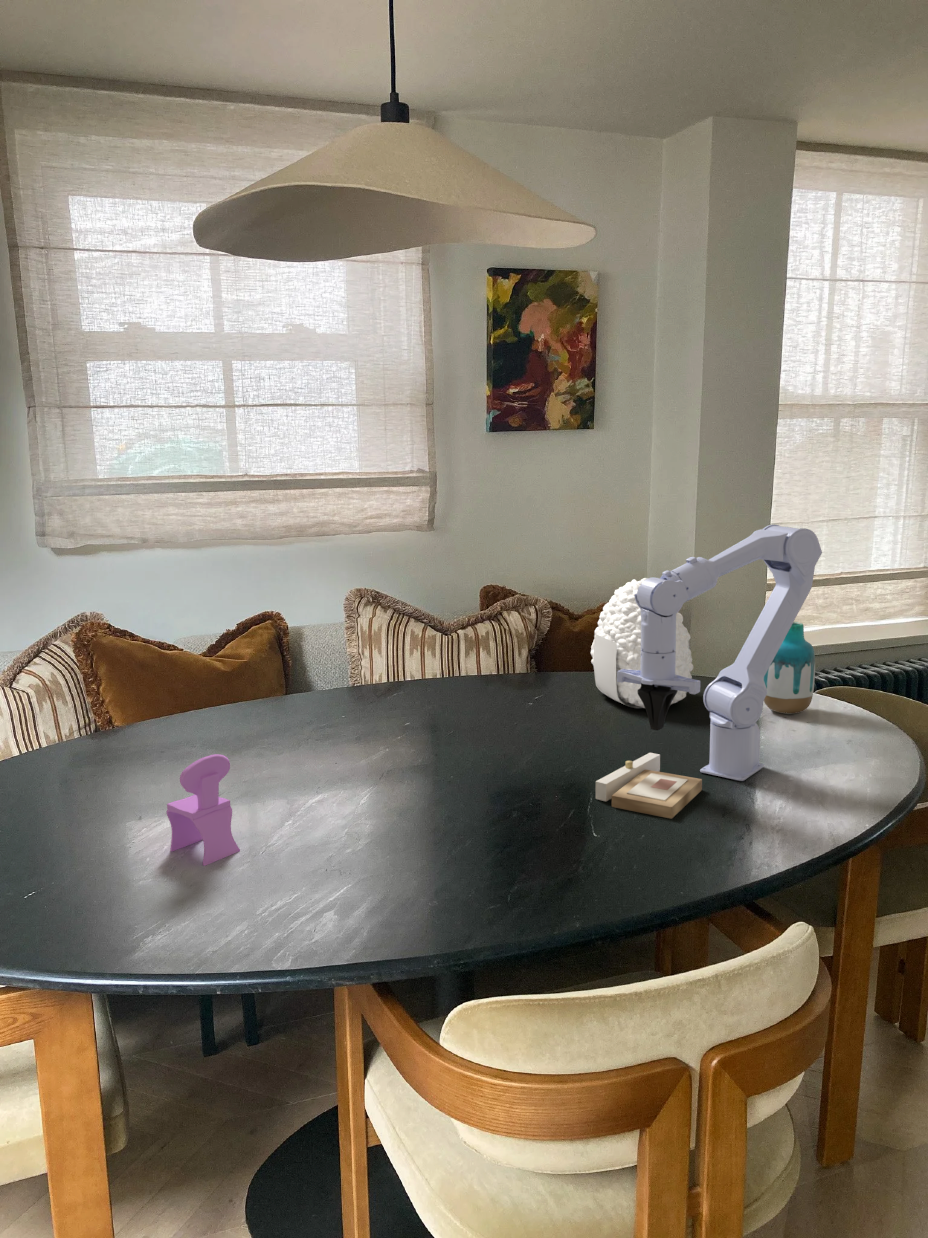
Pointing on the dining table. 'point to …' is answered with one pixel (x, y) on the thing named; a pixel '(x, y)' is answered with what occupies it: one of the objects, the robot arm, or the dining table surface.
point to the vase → (791, 674)
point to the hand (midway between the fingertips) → (657, 728)
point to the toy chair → (203, 810)
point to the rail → (625, 775)
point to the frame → (657, 793)
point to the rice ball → (629, 647)
